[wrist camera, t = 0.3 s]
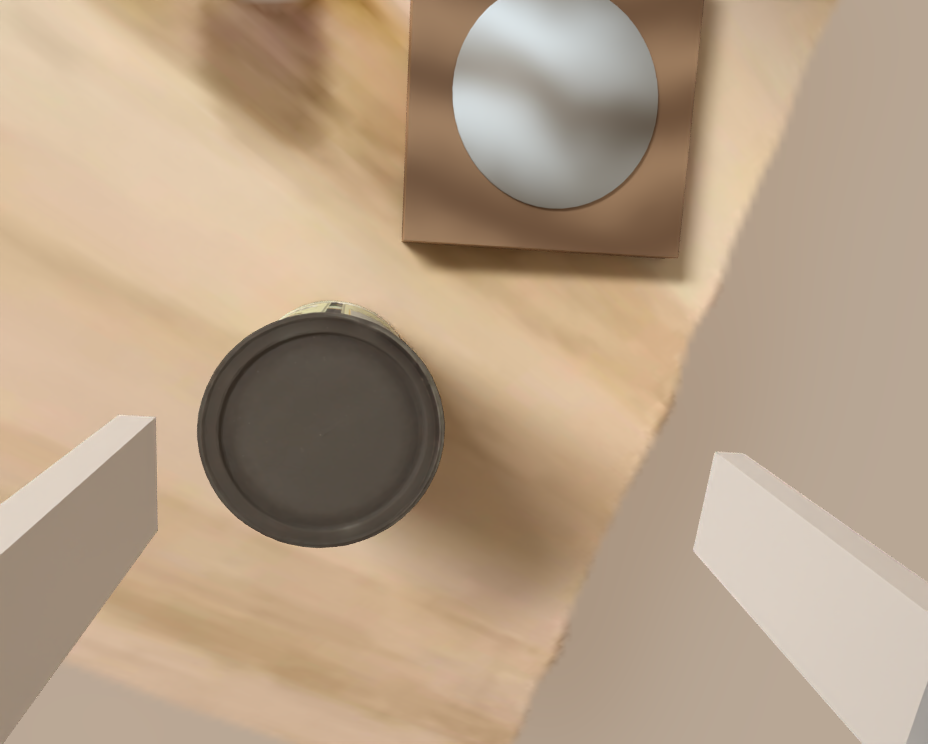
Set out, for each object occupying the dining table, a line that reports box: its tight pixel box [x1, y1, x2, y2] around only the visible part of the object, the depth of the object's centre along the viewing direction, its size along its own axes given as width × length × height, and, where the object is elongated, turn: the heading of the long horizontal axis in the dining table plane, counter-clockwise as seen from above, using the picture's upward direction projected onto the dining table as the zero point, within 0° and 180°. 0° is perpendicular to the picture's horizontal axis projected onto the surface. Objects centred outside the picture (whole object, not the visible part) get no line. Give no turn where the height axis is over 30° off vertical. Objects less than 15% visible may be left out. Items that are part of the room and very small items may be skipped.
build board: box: [402, 0, 704, 258], centre depth 38 cm, size 18×18×2 cm
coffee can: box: [197, 301, 445, 548], centre depth 33 cm, size 10×10×14 cm
